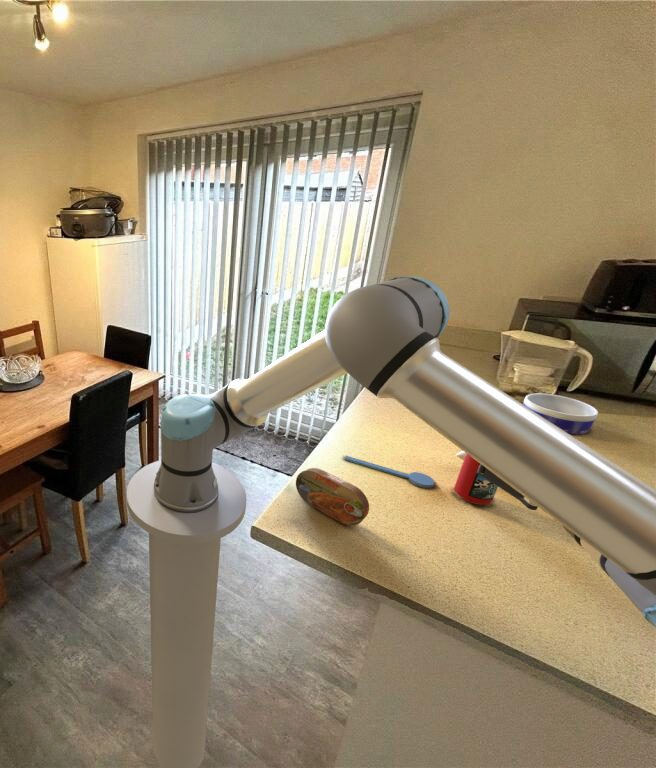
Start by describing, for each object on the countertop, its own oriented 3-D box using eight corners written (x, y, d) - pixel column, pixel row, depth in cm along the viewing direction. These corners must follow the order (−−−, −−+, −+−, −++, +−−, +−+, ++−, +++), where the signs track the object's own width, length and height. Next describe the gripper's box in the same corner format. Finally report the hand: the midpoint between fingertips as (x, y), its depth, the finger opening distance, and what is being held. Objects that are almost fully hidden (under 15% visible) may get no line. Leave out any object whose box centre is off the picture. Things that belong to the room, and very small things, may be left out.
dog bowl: (599, 439, 108) (609, 420, 105) (526, 427, 115) (534, 408, 112) (577, 416, 120) (585, 398, 117) (512, 406, 127) (519, 389, 124)
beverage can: (478, 510, 83) (497, 463, 79) (445, 491, 89) (461, 447, 84) (498, 502, 86) (517, 456, 81) (465, 484, 91) (481, 440, 87)
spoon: (343, 463, 100) (343, 460, 100) (347, 454, 104) (347, 451, 103) (432, 491, 90) (433, 487, 89) (433, 480, 93) (435, 476, 93)
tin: (292, 495, 89) (297, 464, 86) (300, 489, 91) (305, 459, 88) (359, 534, 78) (367, 500, 75) (366, 527, 80) (375, 493, 76)
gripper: (494, 537, 58) (440, 458, 77) (721, 576, 51) (602, 479, 70) (512, 497, 55) (451, 425, 74) (756, 533, 48) (622, 443, 67)
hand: (524, 451), depth 72 cm, fingers open, 13 cm apart
